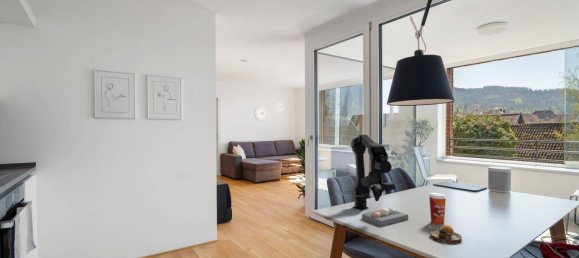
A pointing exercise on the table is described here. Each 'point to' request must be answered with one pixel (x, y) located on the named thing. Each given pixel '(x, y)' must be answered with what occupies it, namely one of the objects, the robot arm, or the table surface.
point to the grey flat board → (385, 218)
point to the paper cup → (437, 208)
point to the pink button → (376, 215)
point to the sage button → (393, 211)
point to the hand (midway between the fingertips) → (376, 201)
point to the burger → (446, 235)
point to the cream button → (384, 211)
